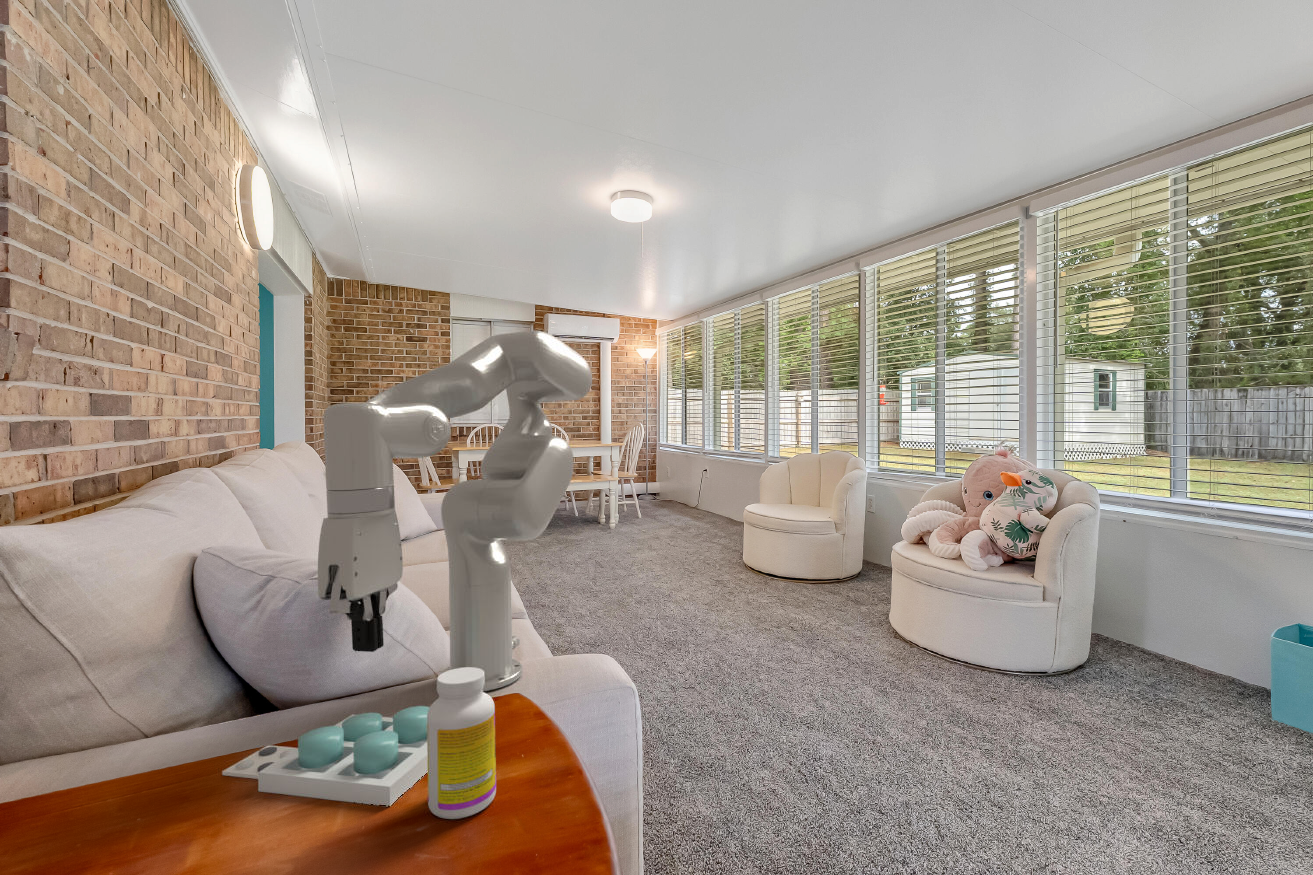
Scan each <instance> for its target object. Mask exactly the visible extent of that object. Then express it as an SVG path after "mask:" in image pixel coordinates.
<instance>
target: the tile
mask: <svg viewBox="0 0 1313 875" xmlns="http://www.w3.org/2000/svg"><path fill="white" fill-rule="evenodd" d="M297 748H298V747H292V746H282V745H281V746H280V745H279V746H278V745H271V744H270V745H269V744H268V745H266V746H264V747H262V748H260V749H259V750H260V751H259V750H257V751H255V752H253V753H252V754H249V756H247V757H245V758H243V759H241V760H240V761H238V762H237V763H235V764H233V765H231V766H229V767H227V768H226V769H224V770H222V771H221V772H222V774H221V775H222V776H229V777H236V778H237V777H238V778H244V779H245V778H246V779H254V780H258V772H260V771H261V770H263V769H265V768H266V767H268V766H269V765H271V764H273V763H274V762H276V761H278V760H279V759H281V758H282V757H284V756H286V755H287V754H289V753H291V752H292V751H294V750H295V749H297Z"/></svg>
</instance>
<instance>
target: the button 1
mask: <svg viewBox="0 0 1313 875" xmlns="http://www.w3.org/2000/svg"><path fill="white" fill-rule="evenodd" d="M297 748H298V765H299V766H300V767H302V768H318V767H323V766H326V765H329V764H331V763H333V762H335V761H337V760H338V759H340V758H341V757H342V756H343V754H344V730H343V728H341V727H338V726H335V725H328V726H321V727H318V728H314V729H311V730H309V731H307V732H305V733H303V734H301V736H299V738H298V740H297Z"/></svg>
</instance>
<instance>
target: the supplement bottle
mask: <svg viewBox="0 0 1313 875" xmlns="http://www.w3.org/2000/svg"><path fill="white" fill-rule="evenodd" d="M441 673H442V672H441ZM441 673H440V674H439V675H438V676H437V678H436V691H437V694H438V699H436V700H434V702H433V703H431V705H430V706H429V707H430V708H429V710H428V713H427V756H428V773H427V801H428V802H427V804H428V809H429V810H430V812H431V813H432V814H433V815H435V816H437V817H438V818H441V819H446V820H448V819H449V820H457V819H458V820H459V819H463V818H467V817H470V816H473V815H476V814H477V813H479V812H481V811H482V810H484V809H486V808H487V807H489V805H490V804H492V802H493V800H494V798H495V796H496V793H497V762H496V761H497V759H496V758H497V756H496V755H497V754H496V715H495V714H496V711H495V710H496V709H495V708H496V706H495V702H494V700H493V698H492V696H490V695H489V694H488V693H486V692H485V691H483V690H482V689H483V687H484V684H485V674H484V671H483V670H482V669H479V668H474V667H464V668H457V669H452V670H449V671H446V672H444V673H442V674H441Z"/></svg>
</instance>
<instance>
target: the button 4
mask: <svg viewBox="0 0 1313 875" xmlns="http://www.w3.org/2000/svg"><path fill="white" fill-rule="evenodd" d="M429 708H430V706H425V705H418V706H410V707H407V708H404V709H400V710H399V711H397V712H396V713H394V715H393V716H392V718H393V732H396V733H397V734H398V744H412V743H416V742H420V741H422V740H424V739H426V738H427V713H428V710H429Z"/></svg>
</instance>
